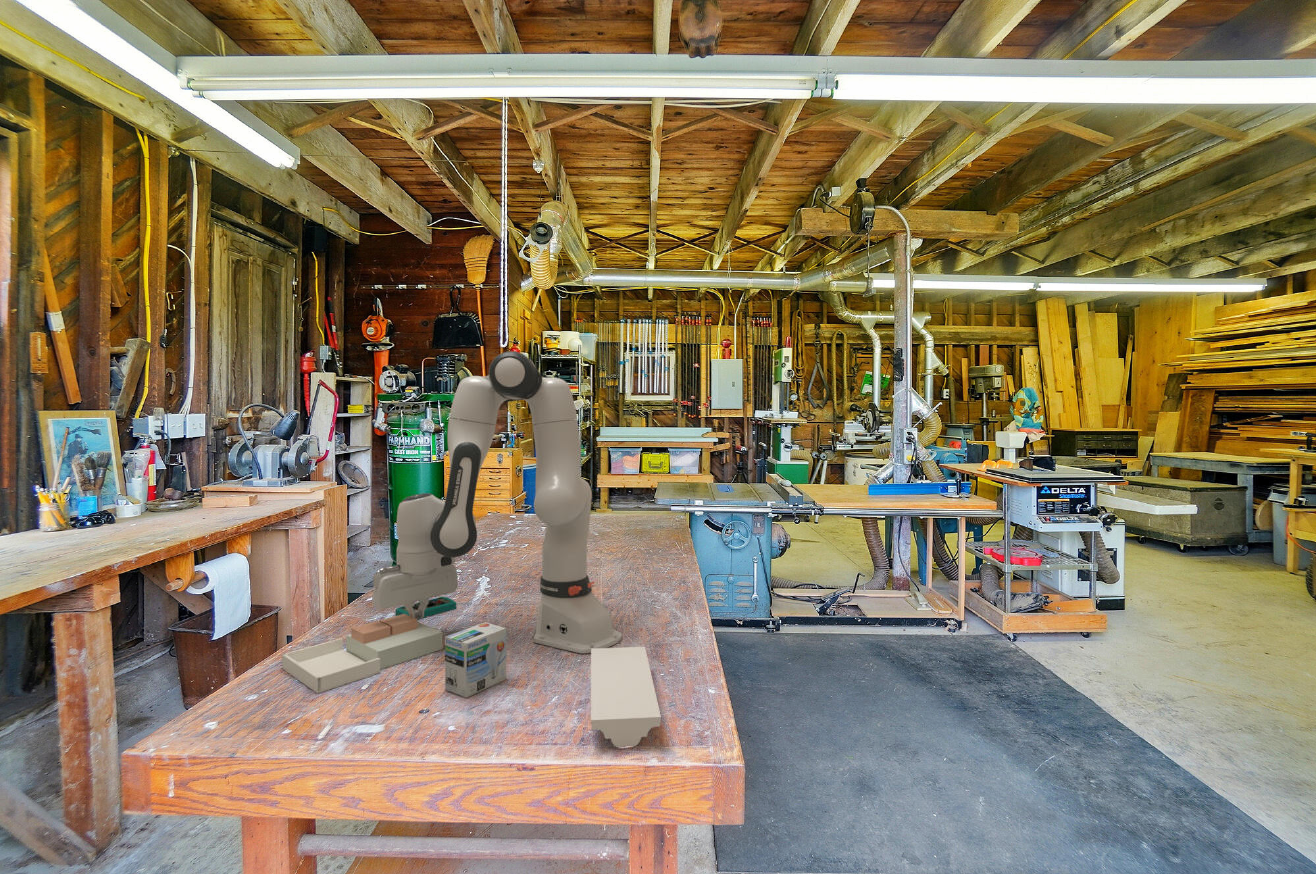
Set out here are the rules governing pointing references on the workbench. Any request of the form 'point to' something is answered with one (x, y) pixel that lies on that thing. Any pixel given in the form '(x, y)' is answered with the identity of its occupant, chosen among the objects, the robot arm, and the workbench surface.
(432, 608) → the digital multimeter
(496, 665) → the light bulb box
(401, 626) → the tile
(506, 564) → the workbench surface
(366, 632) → the tile
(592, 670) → the beige molded block
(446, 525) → the robot arm
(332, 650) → the tray
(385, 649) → the board
